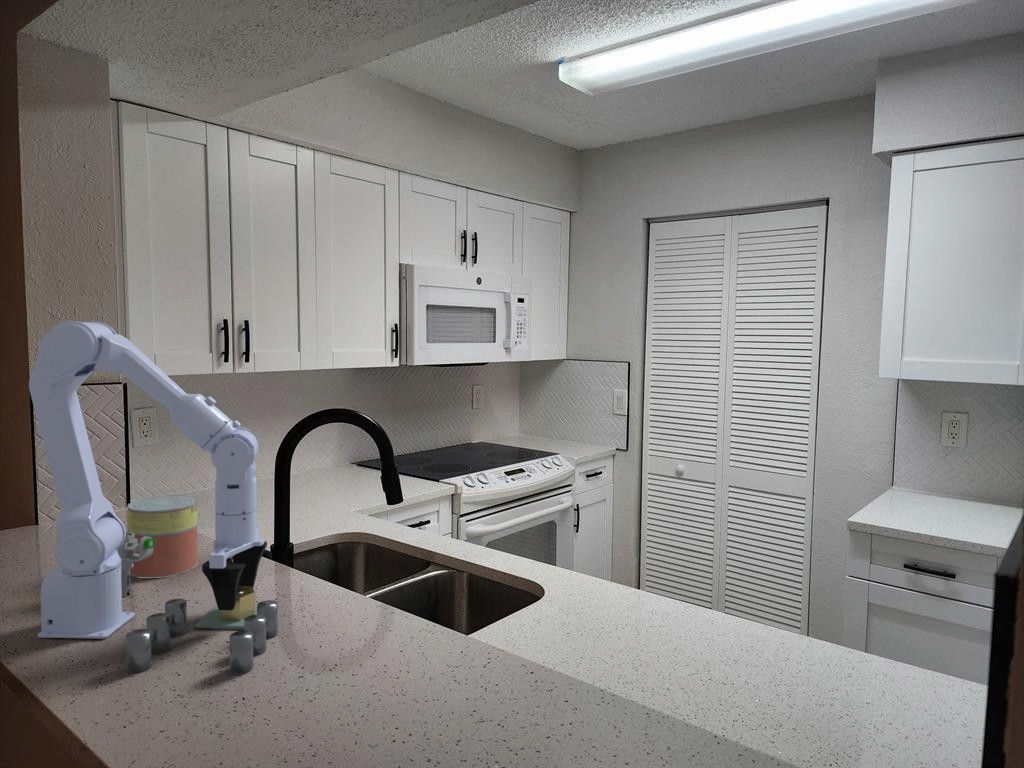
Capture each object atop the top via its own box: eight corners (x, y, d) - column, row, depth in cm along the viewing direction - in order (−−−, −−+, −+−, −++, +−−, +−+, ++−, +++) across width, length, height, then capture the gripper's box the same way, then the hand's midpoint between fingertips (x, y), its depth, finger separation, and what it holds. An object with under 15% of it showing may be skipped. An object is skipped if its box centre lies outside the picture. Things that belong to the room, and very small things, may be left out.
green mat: (194, 628, 98) (194, 625, 98) (214, 609, 105) (214, 606, 105) (257, 629, 99) (257, 626, 99) (272, 610, 106) (272, 607, 106)
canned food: (210, 565, 125) (210, 501, 124) (150, 583, 115) (149, 514, 114) (175, 553, 131) (174, 492, 130) (115, 569, 121) (114, 504, 120)
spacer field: (122, 672, 85) (121, 638, 85) (170, 628, 98) (170, 598, 98) (248, 674, 86) (248, 640, 86) (280, 630, 99) (280, 600, 98)
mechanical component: (145, 601, 107) (144, 540, 107) (90, 595, 109) (89, 534, 109) (158, 594, 110) (158, 534, 110) (104, 588, 112) (103, 529, 112)
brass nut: (212, 620, 100) (212, 597, 100) (225, 607, 105) (225, 585, 104) (249, 621, 100) (249, 597, 100) (259, 608, 105) (259, 586, 105)
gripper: (245, 524, 94) (245, 619, 95) (278, 499, 109) (278, 581, 110) (194, 523, 94) (194, 618, 95) (234, 498, 108) (234, 581, 109)
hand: (236, 599), depth 102 cm, fingers open, 7 cm apart
